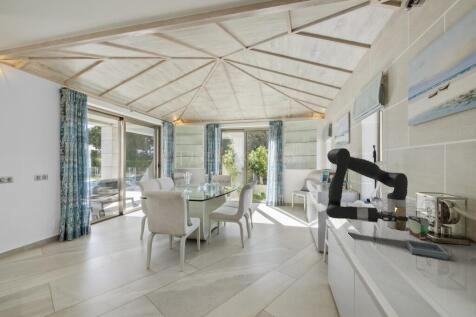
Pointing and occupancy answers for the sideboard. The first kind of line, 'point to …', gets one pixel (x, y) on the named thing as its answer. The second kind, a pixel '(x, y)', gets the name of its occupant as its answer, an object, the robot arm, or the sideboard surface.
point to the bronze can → (400, 224)
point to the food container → (418, 227)
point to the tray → (426, 250)
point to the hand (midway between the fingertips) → (406, 217)
